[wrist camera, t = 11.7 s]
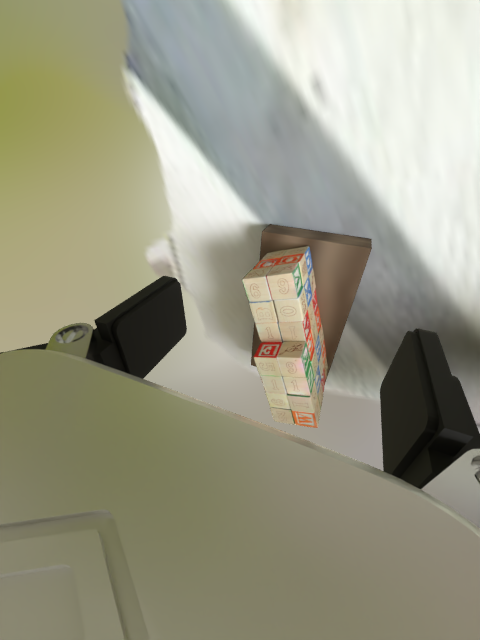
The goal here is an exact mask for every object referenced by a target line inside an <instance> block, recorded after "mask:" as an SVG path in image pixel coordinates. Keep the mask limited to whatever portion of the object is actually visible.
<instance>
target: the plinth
mask: <svg viewBox="0 0 480 640" xmlns="http://www.w3.org/2000/svg"><path fill="white" fill-rule="evenodd" d="M306 246H309V247H310V253H311V259H312V267H313V271H314V278H315V285H316V288H315V290H316V296H317V303H318V307H319V313H320V320H321V323H322V328H323V334H324V342H325V349H326V359H327V366H328V368H327V376H328V373H329V370H330V367H331V364H332V361H333V358H334V355H335V352H336V350H337V347H338V344H339V341H340V338H341V335H342V332H343V329H344V326H345V324H346V321H347V318H348V315H349V312H350V309H351V306H352V303H353V301H354V298H355V295H356V292H357V289H358V286H359V283H360V280H361V277H362V275H363V272H364V269H365V266H366V263H367V260H368V257H369V254H370V252H371V249H372V247H371V239H368V238H361V237H354V236H347V235H340V234H334V233H327V232H320V231H313V230H306V229H299V228H292V227H286V226H279V225H272V224H270V225H269V226H268V227H267V228H266V229H264V230H263V231H262V239H261V251H260V261H261V260H262V258H263V257H264V256H265V255H266V254H267V253H271V252H275V251H281V250H289V249H294V248H300V247H306ZM261 342H262V341H261V340H260V337H259V334H258V331H257V328H256V325H255V322H254V334H253V346H252V358H251V365H253V366H256V363H255V360H254V355H255V353H256V351H257V349H258V347H259V345H260V343H261ZM256 367H257V366H256ZM327 376H326V378H327ZM325 381H326V379H325Z"/></svg>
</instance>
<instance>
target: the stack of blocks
mask: <svg viewBox="0 0 480 640" xmlns="http://www.w3.org/2000/svg"><path fill="white" fill-rule="evenodd" d="M242 281H243V284H244V288H245V291H246V294H247V297H248V300H249V305H250V308H251V312H252V315H253V318H254V321H255V325H256V328H257V331H258V334H259V337H260V340H261V341H262V342H261V343H260V345H259V347H258V349H257V351H256V353H255V355H254V360H255V363H256V366H257V369H258V372H259V374H260V376H261V380H262V382H263V385H264V389H265V393H266V396H267V399H268V402H269V405H270V409H271V412H272V415H273V418H274V421H276V422H282V423H288V424H293V425H294V424H296V425H300V426H307V427H314V428H318V424H319V418H320V410H321V406H322V400H323V391H324V385H325V379H326V376H327V368H328V366H327V359H326V349H325V342H324V334H323V328H322V323H321V320H320V313H319V307H318V303H317V296H316V290H315V288H316V285H315V278H314V271H313V267H312V259H311V253H310V247H309V246H306V247H300V248H294V249H289V250H281V251H275V252H271V253H267V254H266V255H265V256H264V257H263V258H262V260H261V261H259V262H258V264H257V265H256V266H255V267H254V268H253V270H250V272H249V273H248V274H247V275H246V276H245V277H244V278H243V279H242Z"/></svg>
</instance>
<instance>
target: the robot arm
mask: <svg viewBox="0 0 480 640" xmlns="http://www.w3.org/2000/svg"><path fill="white" fill-rule="evenodd" d="M95 323H96V326H97V328H96V329H93V327H92V326H91V325H89V324H86V323H76V324H71V325H68V326H65V327H63V328H61V329H59V330H58V331H57V332H55V333H54V334H53V335H52V337H51V338H50V341H49V343H46V344H42V345H36V346H32V347H27V348H22V349H17V350H13V351H8V352H1V353H0V640H480V434H479V431H478V428H477V426H476V423H475V420H474V418H473V415H472V413H471V410H470V407H469V405H468V402H467V399H466V397H465V394H464V391H463V389H462V386H461V384H460V381H459V380H458V378H457V377H455V376H452V375H451V372H450V369H449V366H448V363H447V360H446V358H445V355H444V352H443V349H442V346H441V344H440V341H439V338H438V335H437V333H435V332H431V331H426V330H421V329H415V330H414V331H413V332H411V331H408V332H407V333H406V335H405V337H404V339H403V341H402V343H401V345H400V347H399V349H398V351H397V353H396V355H395V358H394V360H393V362H392V364H391V366H390V368H389V370H388V372H387V374H386V376H385V378H384V380H383V382H382V385H381V389H380V400H381V422H382V445H383V467H384V471H381V470H379V469H377V468H374V467H372V466H370V465H368V464H365V463H363V462H360V461H358V460H355V459H352V458H350V457H348V456H345V455H342V454H340V453H337V452H335V451H332V450H330V449H327V448H325V447H322V446H320V445H317V444H315V443H312V442H310V441H307V440H304V439H301V438H299V437H296V436H294V435H291V434H288V433H286V432H283V431H281V430H278V429H275V428H272V427H270V426H267V425H265V424H262V423H259V422H257V421H254V420H252V419H249V418H246V417H244V416H241V415H238V414H236V413H233V412H230V411H228V410H225V409H222V408H220V407H217V406H214V405H212V404H209V403H206V402H204V401H201V400H198V399H196V398H193V397H190V396H187V395H185V394H182V393H179V392H177V391H174V390H171V389H169V388H166V387H163V386H160V385H157V384H155V383H152V382H149V381H147V380H144V379H143V378H144V377H145V376H146V375H147V374H148V373H149V372H150V371H151V370H152V369H153V368H154V367H155V366H156V365H157V364H158V363H159V362H160V360H161V359H163V357H164V356H165V355H166V354H167V353H168V352H169V351H170V350H171V349H172V348H173V347H174V346H175V345H176V344H177V343H178V342H179V341H180V340H181V339H182V337H184V335H185V334H186V329H187V328H186V320H185V313H184V306H183V299H182V292H181V285H180V283H179V282H178V281H177V279H176V278H172V277H168V276H162V277H161V278H159V279H158V280H156V281H155V282H153V283H152V284H150V285H148V286H147V287H145V288H144V289H142V290H141V291H139V292H138V293H136V294H135V295H133V296H131V297H130V298H128V299H127V300H125V301H124V302H122V303H121V304H119V305H118V306H116V307H115V308H113V309H111V310H110V311H108V312H107V313H105V314H104V315H102V316H101V317H99V318H97V319H96V320H95Z"/></svg>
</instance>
